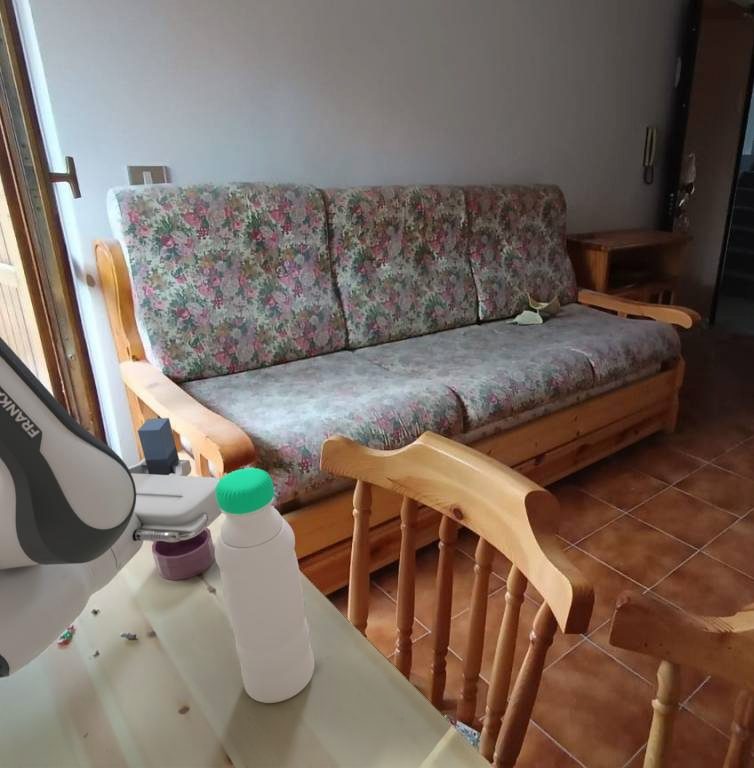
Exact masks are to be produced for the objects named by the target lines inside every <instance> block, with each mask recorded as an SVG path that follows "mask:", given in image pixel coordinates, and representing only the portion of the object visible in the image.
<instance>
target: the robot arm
mask: <svg viewBox="0 0 754 768" xmlns="http://www.w3.org/2000/svg"><path fill="white" fill-rule="evenodd" d="M170 468H171V471H172V473H171V474H169V475H155V474H149V472H148V468H147V464H146V460H145V457H143V458H142V459H141V460H140V461H138V462H137V463H136V464H132V465H130V466H127V464H126V463H125V461H124V460H123V459H122V458H121V457H120V456H119V455H118V453H117V452H115V451H114V450H113V449H112V448H111V447H110V446H109V445H107V444H106V443H105V442H104V441H102V440H101V439H99V438H98V437H97V436H95V435H94V434H93V433H91V432H89V431H88V429H86V428H84V426H82V425H81V424H80V423H79V422H78V421H77V420H75V418H73V416H72V415H71V414H70V413H69V412H68V411H67V410H66V409H65V408H64V407H63V405H62V404H61V403H60V402H59V401H58V400H57V398H56V397H55V396H54V395H53V394H52V393H51V392H50V391H49V390H48V388H47V387H46V386H45V385H44V384H43V383H42V382H41V381H40V379H39V378H38V377H37V376H36V375H35V374H34V373H33V371H31V370H30V369H29V367H28V366H27V364H25V363H24V362H23V361H22V359H21V358H20V357H19V356H18V355H17V354H16V352H15V351H14V350H13V349H12V348H11V347H10V346H9V345H8V344H7V342H6V341H5V340H4V339H3V337H1V336H0V678H6V677H7V678H8V677H9V676H11V675H14V674H16V673H17V672H19V671H20V670H21V669H23V668H25V667H27V666H28V665H29V664H30V663H31V662H32V661H34V660H35V659H36V658H38V657H39V656H40V655H41V654H42V653H43V652H44V651H46V650H47V649H48V648H49V647H50V646H51V645H52V644H53V643H54V642H55V641H56V640H57V639H58V638H59V637H60V636H61V635H62V634H63V633H64V632H66V631H67V629H68V628H69V627H70V626H71V625H72V624H73V623H75V621H76V620H77V619H78V617H79V616H81V614H82V613H83V612H84V610H85V608H86V607H87V604H88V602H89V600H90V598H91V597H92V596H93V595H94V594H96V593H97V592H99V591H101V590H102V589H103V588H105V587H106V586H107V585H109V584H110V583H111V582H112V580H114V578H115V577H117V575H118V574H119V573H120V572H121V571H122V570H123V569H124V567H125V566H127V564H128V563H129V562H130V561H131V560H132V559H133V558H134V557H135V556H136V554H138V552H139V551H140V550H141V548H142V547H143V544H144V542H154V541H165V542H178V541H180V540H187V539H190V538H193V537H195V536H196V535H198V534H199V533H201V532H202V531H203V530H205V529H206V528H208V527H210V525H212V523H213V522H215V521H216V520H217V519H218V518H219V517H220V516H221V514H223V513H222V511H221V509H220V507H219V505H218V502H217V499H216V486H217V484H218V482H219V481H220V480H221V479H222V478H220V477H213V476H212V477H210V476H190V474H191V472H192V466H191V462H190V460H189V459H179V460H175V462H174V463H172V464H171V465H170Z"/></svg>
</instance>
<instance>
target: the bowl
mask: <svg viewBox="0 0 754 768" xmlns="http://www.w3.org/2000/svg"><path fill="white" fill-rule="evenodd" d="M151 553H152V556H153V560H154V564H155V567H156V570H157V573H158V574H159V575H160V577H161V578H163V579H166V580H170V581H180V580H185V579H190V578H193V577H195V576H198V575H200V574H202V573H203V572H205V571H206V570H207V569H209V568H210V566H212V565H213V563H214V562H215V560H216V559H215V545H214V541H213V537H212V532H211V530H210V528H208V527H207V528H206V529H205V530H203V531H202V532H201V533H199V534H198V535H196V536H195V537H193V538H190V539H187V540H180V541H178V542H165V541H153V542H152V545H151Z"/></svg>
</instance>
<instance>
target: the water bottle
mask: <svg viewBox="0 0 754 768" xmlns="http://www.w3.org/2000/svg"><path fill="white" fill-rule="evenodd" d="M220 479H221V480H220V481H219V482H218V484H217V486H216V499H217V502H218V505H219V507H220V509H221V511H222V513H221V514H223V515H225V517H224V519H223V521H222V522H221V523H222V524H221V526H220V532H219V533H218V536H217V539H216V542H215V545H214V550H215V559H214V560H215V562H216V564H217V566H218V568H219V570H220V571H219V572H220V573H219V574H220V580H221V587H222V593H223V597H224V602H225V607H226V611H227V616H228V619H229V622H230V626H231V629H232V632H233V635H234V637H235V638H234V643H235V652H236V656H237V659H238V662H239V663H240V671H241V678H242V683H243V687H244V689H245V692H246V694H248V696H249V697H250V698H251V699H253V700H254V701H257V702H260V703H263V704H274V703H280V702H283V701H287V700H289V699H291V698H292V697H294V696H296V695H298V694H299V693H300V692H301V691H303V690H304V688H306V687H307V685H308V684H309V682H310V681H311V679H312V677H313V674H314V672H315V671H314V670H315V660H314V653H313V649H312V645H311V643H310V630H309V624H308V620H307V618H306V614H305V612H306V611H305V610H306V609H305V598H304V590H303V583H302V577H301V576H302V575H301V570H300V565H299V561H298V558H297V554H296V553H297V552H296V551H295V546H296V538H295V537H296V536H295V533H294V530H293V529H292V527H291V525H290V524H289V522H288V521H287V520H286V519H284V517H283V516H282V515H281V514H280V512H279V511H278V510H277V509H276V508H275V507H274V506H273V502H274V500H275V499H274V496H275V488H274V482H273V479H272V477H271V475H270V474H269V473H268V472H267V471H266V470H264V469H261V468H256V467H255V468H254V467H247V468H246V467H245V468H240V469H236V470H234V471H231V472H229V473H227V474H225V475H224V476H223V477H221V478H220Z"/></svg>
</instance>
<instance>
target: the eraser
mask: <svg viewBox="0 0 754 768" xmlns="http://www.w3.org/2000/svg"><path fill="white" fill-rule="evenodd" d="M137 435H138V438H139V442H140V445H141V448H142V453H143V456H144V457H143V458H145V460H146V464H147V468H148V472H149V474H155V475H169V474H171V473H172V471H171V468H170V465H171V464H172V463H174V462H175V460H180V457H179V454H178V449H177V445H176V441H175V438H174V433H173V429H172V425H171V421H170V417H158V418H157V417H156V418H147V420H146V421H145V422H143V424H142V425H141V426H140V427H139V428H138V430H137Z"/></svg>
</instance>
